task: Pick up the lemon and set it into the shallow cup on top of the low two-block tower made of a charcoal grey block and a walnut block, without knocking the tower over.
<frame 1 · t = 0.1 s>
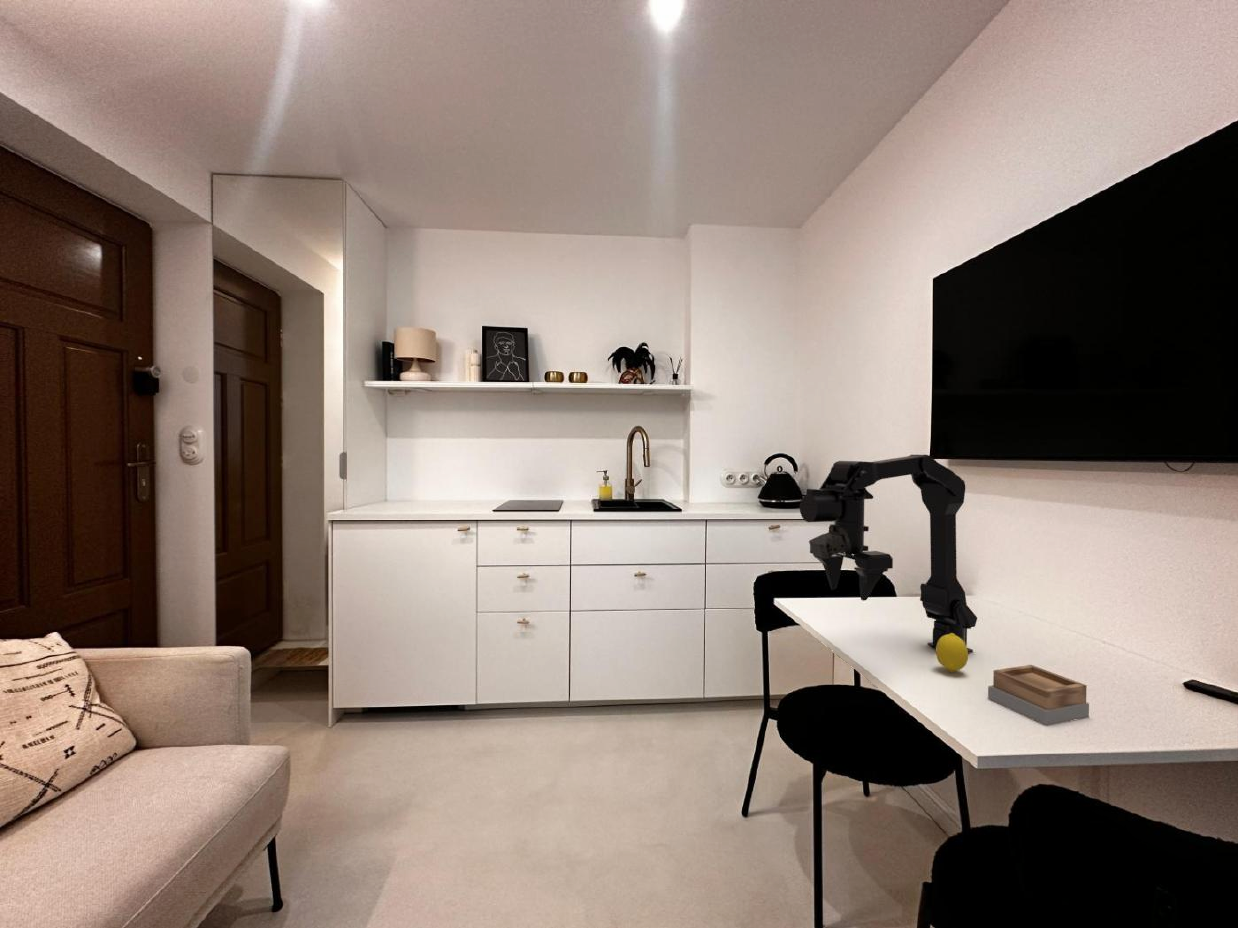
hand: (848, 594, 113), 15 cm above the table, tool pointing down, fingers open, 9 cm apart
lemon: (951, 673, 109), on the table
bottom block: (1036, 711, 94), on the table, touching top block
top block: (1038, 694, 94), point 2 cm above the table, touching bottom block
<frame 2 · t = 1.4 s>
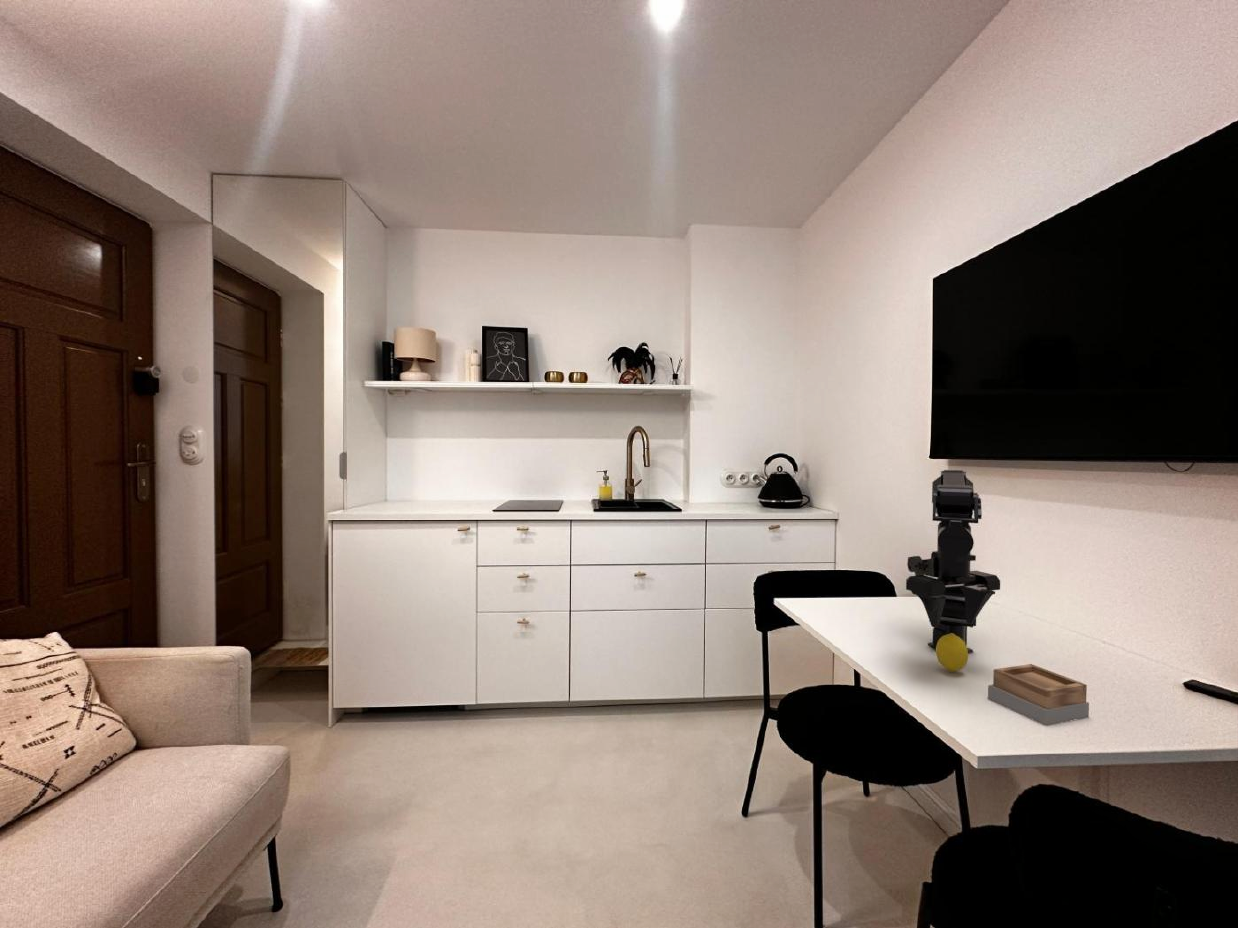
hand: (952, 624, 109), 10 cm above the table, tool pointing down, fingers open, 9 cm apart
nothing on the table moved.
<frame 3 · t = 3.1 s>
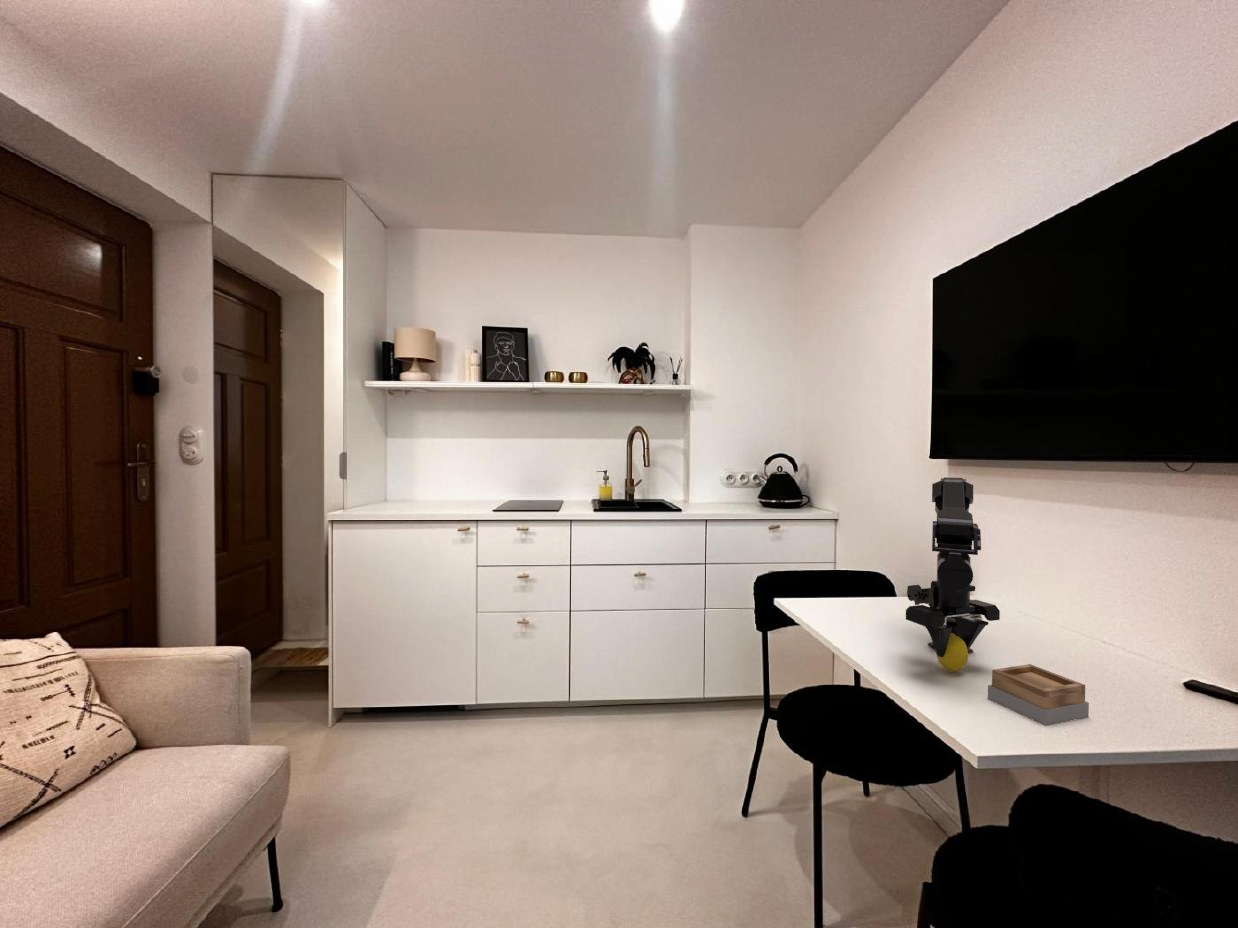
hand: (951, 654, 109), 4 cm above the table, tool pointing down, fingers closed on lemon, 5 cm apart
lemon: (951, 673, 109), on the table, touching gripper
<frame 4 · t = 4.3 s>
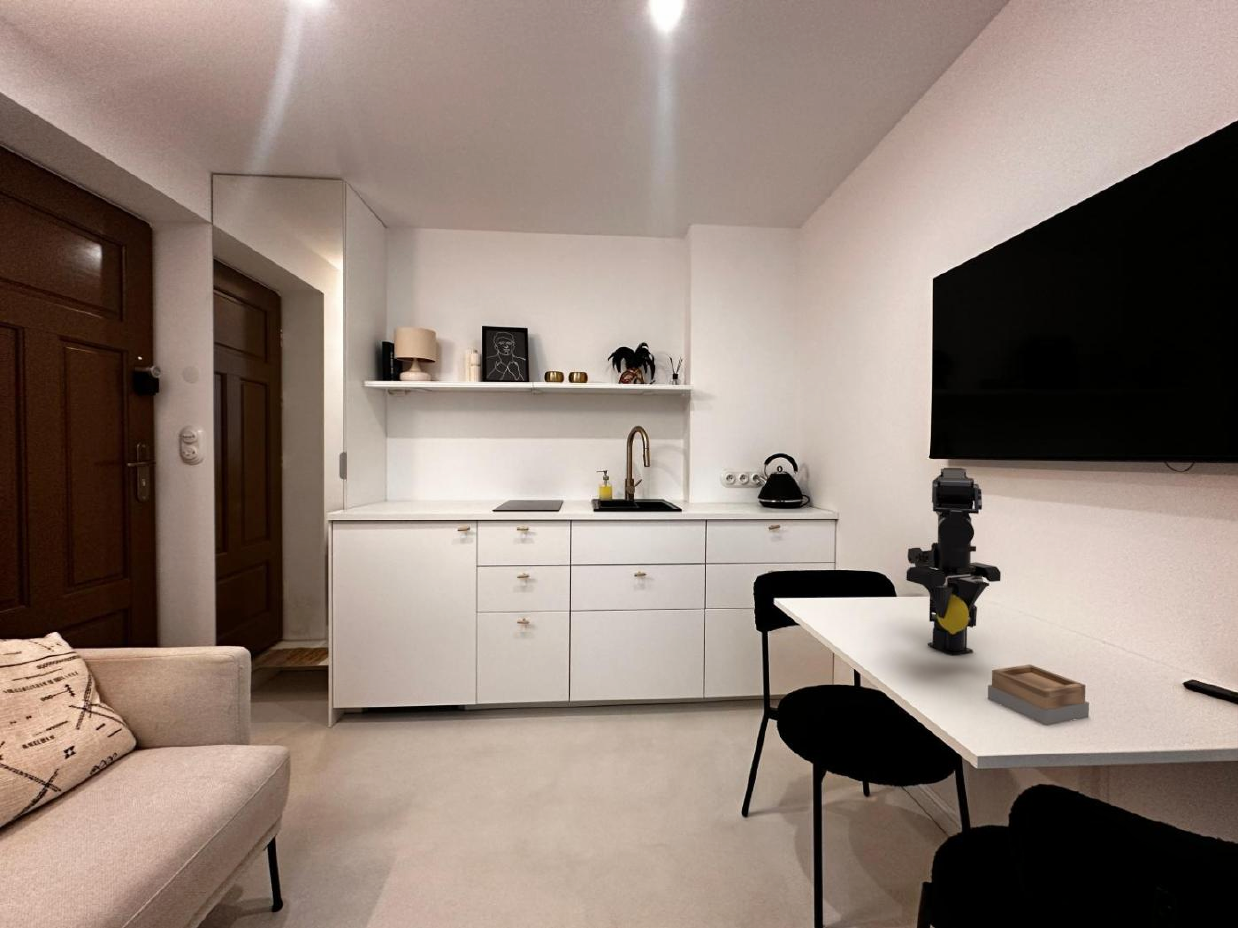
hand: (952, 616, 109), 11 cm above the table, tool pointing down, fingers closed on lemon, 5 cm apart
lemon: (952, 634, 109), point 8 cm above the table, touching gripper
everything else where it was.
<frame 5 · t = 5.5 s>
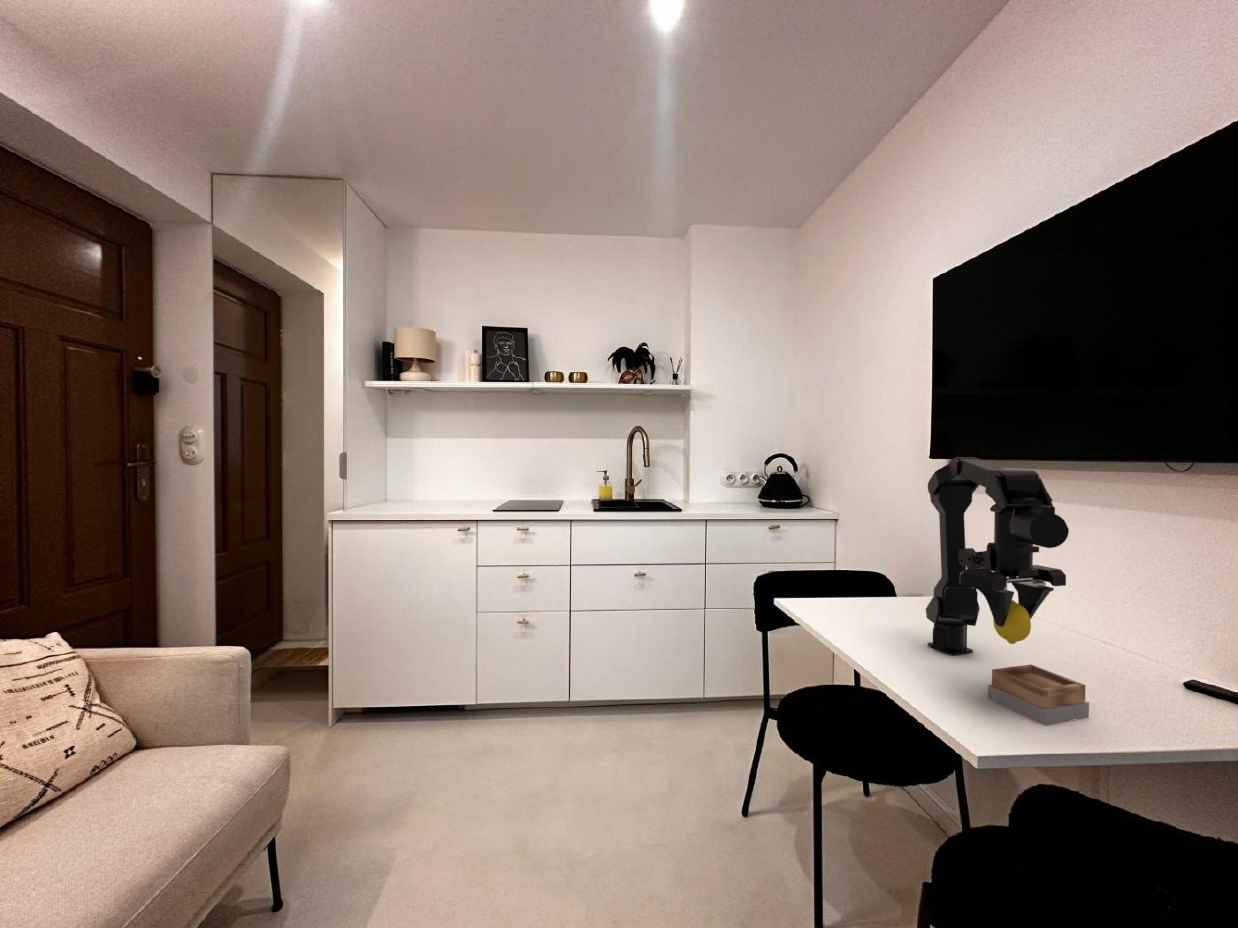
hand: (1011, 624, 98), 13 cm above the table, tool pointing down, fingers closed on lemon, 5 cm apart
lemon: (1011, 645, 98), point 10 cm above the table, touching gripper
everything else where it was.
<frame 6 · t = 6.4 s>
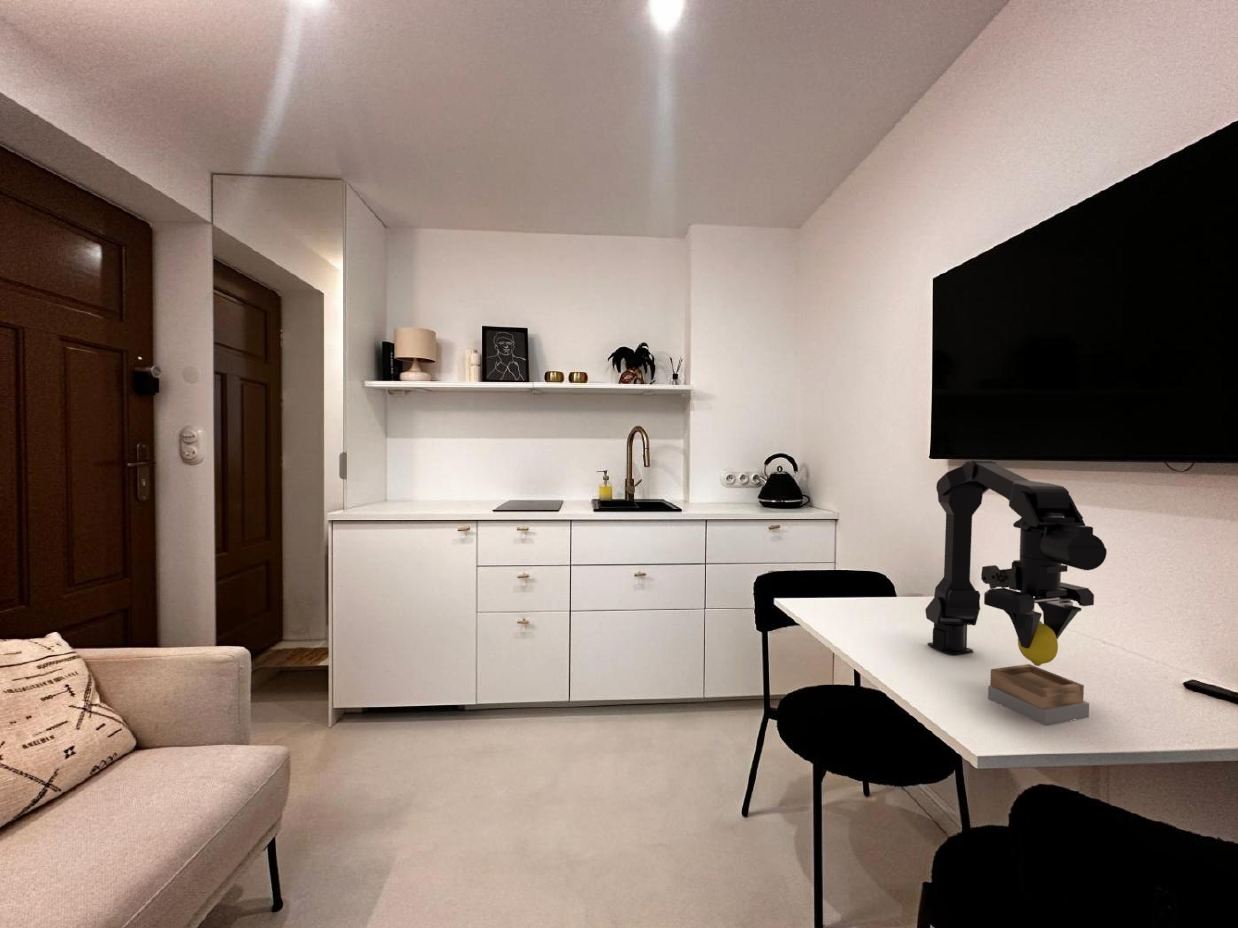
hand: (1037, 645, 94), 11 cm above the table, tool pointing down, fingers closed on lemon, 5 cm apart
lemon: (1036, 666, 94), point 7 cm above the table, touching gripper
everything else where it was.
when the fingers open (10 cm above the table, at t = 7.4 s): lemon drops 2 cm, resting on top block.
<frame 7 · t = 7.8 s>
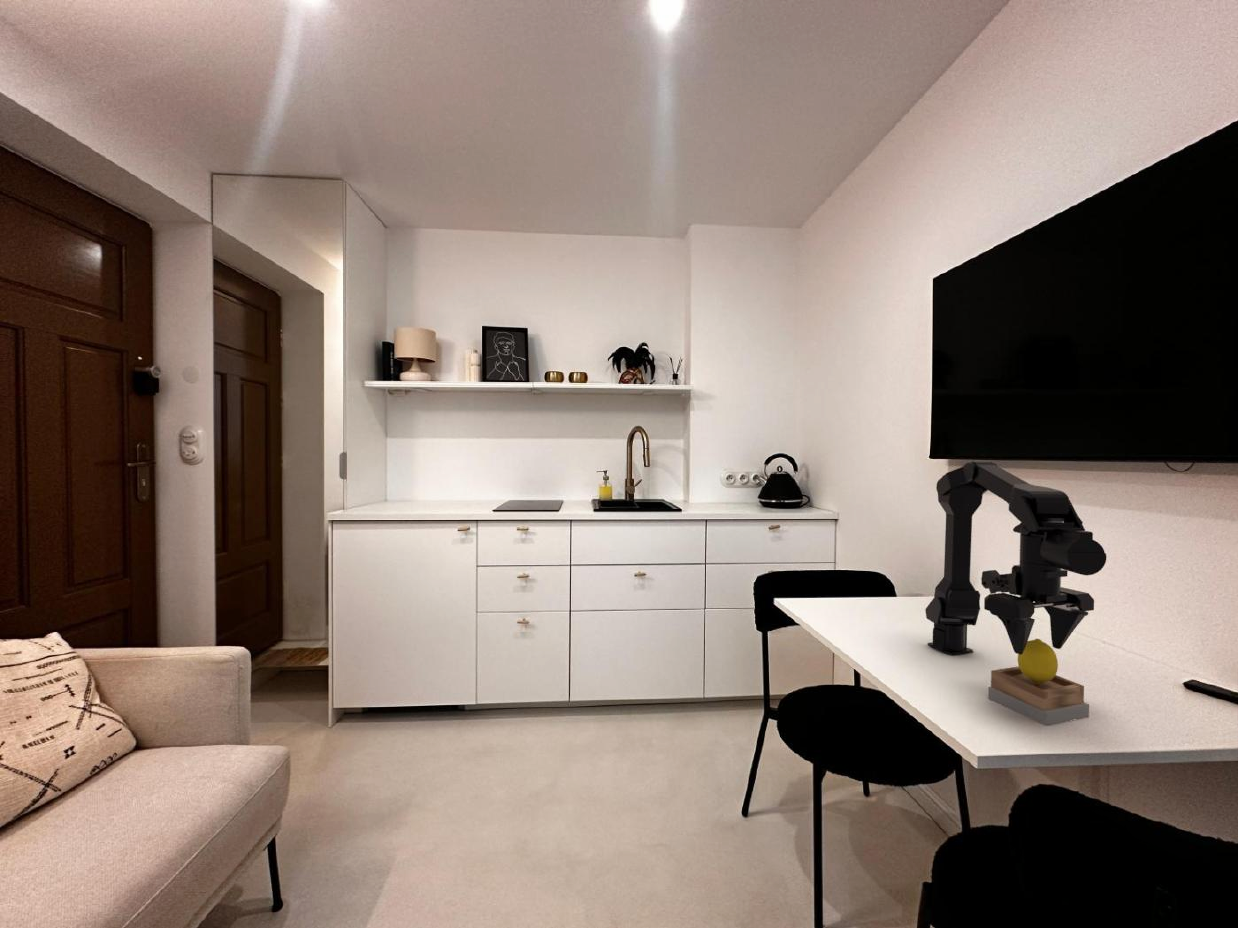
hand: (1037, 650, 94), 10 cm above the table, tool pointing down, fingers open, 9 cm apart
lemon: (1036, 685, 94), point 4 cm above the table, touching top block
top block: (1035, 694, 94), point 2 cm above the table, touching bottom block, lemon
everything else where it was.
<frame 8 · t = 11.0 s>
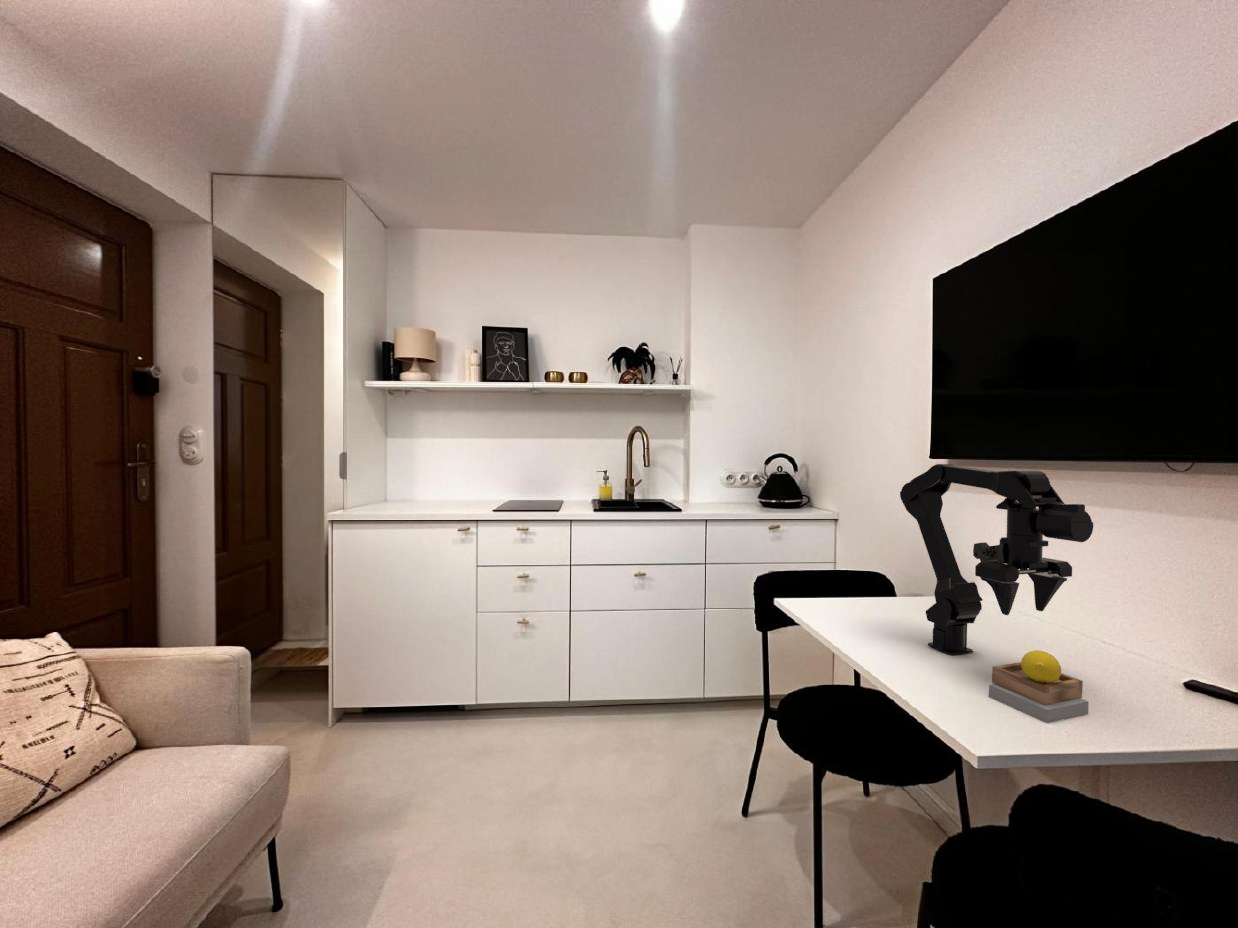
hand: (1022, 612, 106), 13 cm above the table, tool pointing down, fingers open, 9 cm apart
lemon: (1041, 668, 97), point 6 cm above the table
bottom block: (1036, 709, 95), on the table, touching top block
top block: (1035, 689, 96), point 2 cm above the table, touching bottom block
at the end: lemon 1.8 cm off-centre on the top block, point 3.5 cm above the top block's base; top block 1.3 cm off-centre on the bottom block, point 3.0 cm above the bottom block's base; bottom block moved 1.5 cm from its start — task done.
